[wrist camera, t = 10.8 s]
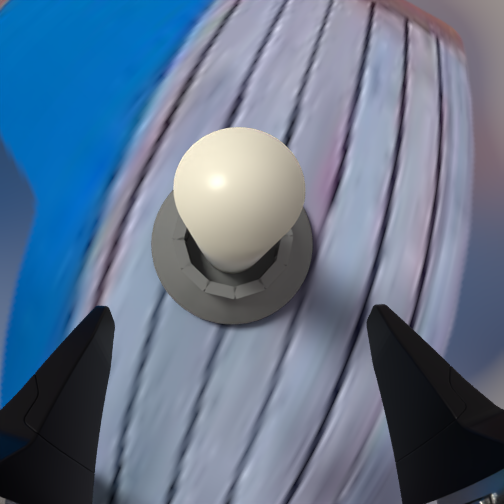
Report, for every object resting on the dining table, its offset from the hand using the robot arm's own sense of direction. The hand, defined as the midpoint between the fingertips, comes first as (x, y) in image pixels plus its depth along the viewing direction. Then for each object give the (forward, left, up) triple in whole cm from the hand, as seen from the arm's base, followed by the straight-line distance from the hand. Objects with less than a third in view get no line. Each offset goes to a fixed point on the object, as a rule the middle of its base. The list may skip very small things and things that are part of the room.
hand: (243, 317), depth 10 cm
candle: (+3, +3, -13) cm, 13 cm away
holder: (+3, +3, -13) cm, 14 cm away
